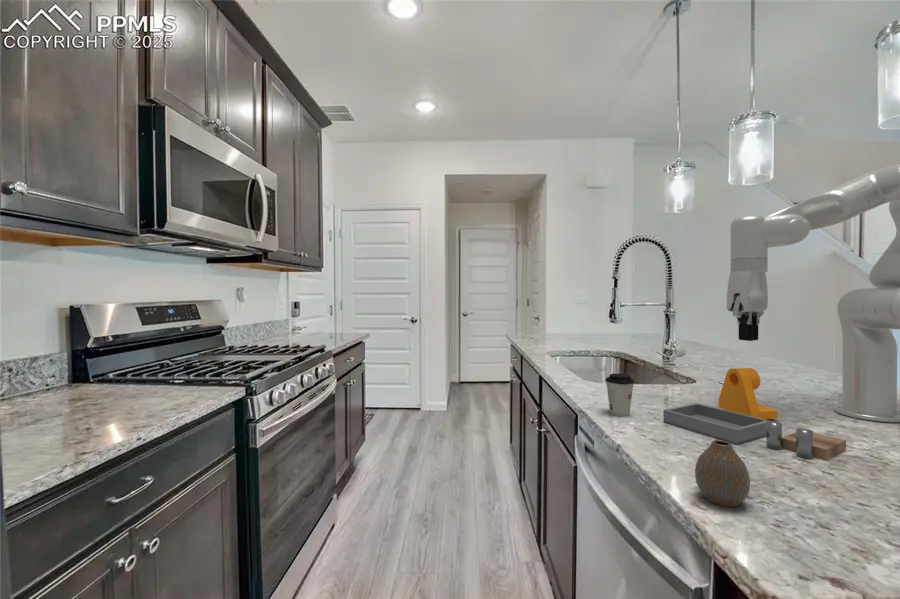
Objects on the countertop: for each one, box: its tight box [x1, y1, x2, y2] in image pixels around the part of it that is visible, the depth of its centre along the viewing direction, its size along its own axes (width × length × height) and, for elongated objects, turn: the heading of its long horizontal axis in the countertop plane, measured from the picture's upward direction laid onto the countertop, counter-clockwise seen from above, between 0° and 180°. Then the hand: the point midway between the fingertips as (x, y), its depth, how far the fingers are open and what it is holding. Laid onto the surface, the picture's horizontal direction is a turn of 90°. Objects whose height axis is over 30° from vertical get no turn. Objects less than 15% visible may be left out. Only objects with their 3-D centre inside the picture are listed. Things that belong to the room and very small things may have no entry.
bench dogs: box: [766, 420, 814, 460], centre depth 80 cm, size 2×7×5 cm, turn 26°
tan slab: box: [781, 432, 847, 461], centre depth 81 cm, size 9×7×2 cm
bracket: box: [718, 367, 778, 420], centre depth 103 cm, size 11×7×12 cm, turn 3°
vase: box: [694, 439, 751, 508], centre depth 62 cm, size 7×7×9 cm
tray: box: [663, 402, 770, 446], centre depth 94 cm, size 13×17×3 cm
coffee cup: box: [604, 373, 635, 418], centre depth 105 cm, size 7×7×10 cm
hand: (748, 339), depth 103 cm, fingers closed
